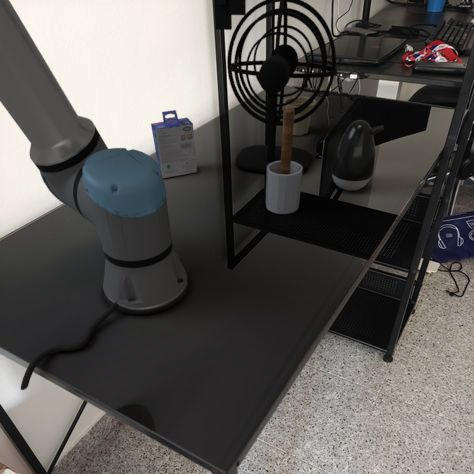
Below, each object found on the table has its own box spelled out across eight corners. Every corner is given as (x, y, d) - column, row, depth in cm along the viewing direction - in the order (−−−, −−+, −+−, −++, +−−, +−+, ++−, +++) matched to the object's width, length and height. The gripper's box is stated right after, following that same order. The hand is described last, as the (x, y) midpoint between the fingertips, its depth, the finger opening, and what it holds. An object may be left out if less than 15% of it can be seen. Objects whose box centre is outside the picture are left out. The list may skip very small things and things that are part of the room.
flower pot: (277, 128, 136) (279, 98, 129) (305, 125, 137) (308, 94, 131) (289, 139, 129) (291, 108, 123) (317, 135, 131) (321, 104, 125)
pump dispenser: (371, 197, 103) (386, 130, 92) (327, 193, 105) (337, 127, 94) (371, 178, 110) (384, 114, 99) (330, 175, 112) (339, 111, 101)
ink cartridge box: (192, 164, 118) (186, 106, 107) (198, 172, 114) (193, 113, 104) (157, 171, 115) (148, 112, 105) (162, 179, 112) (153, 119, 101)
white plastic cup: (279, 217, 97) (281, 178, 91) (259, 204, 102) (260, 166, 95) (305, 207, 100) (309, 169, 94) (284, 194, 105) (287, 157, 98)
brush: (281, 209, 99) (287, 114, 84) (271, 202, 101) (275, 109, 87) (295, 204, 100) (303, 110, 86) (284, 197, 103) (290, 105, 88)
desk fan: (327, 152, 122) (348, -6, 97) (319, 179, 110) (341, 6, 85) (235, 145, 127) (232, -8, 102) (218, 170, 115) (211, 3, 90)
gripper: (237, -172, 53) (239, 36, 69) (265, -154, 70) (262, 9, 86) (178, -169, 54) (193, 35, 70) (220, -152, 71) (225, 9, 87)
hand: (231, 21), depth 78 cm, fingers open, 13 cm apart
